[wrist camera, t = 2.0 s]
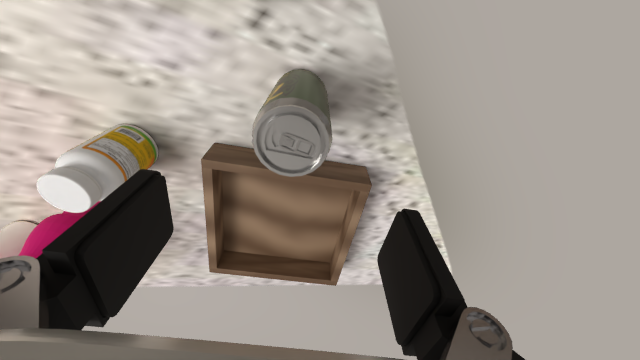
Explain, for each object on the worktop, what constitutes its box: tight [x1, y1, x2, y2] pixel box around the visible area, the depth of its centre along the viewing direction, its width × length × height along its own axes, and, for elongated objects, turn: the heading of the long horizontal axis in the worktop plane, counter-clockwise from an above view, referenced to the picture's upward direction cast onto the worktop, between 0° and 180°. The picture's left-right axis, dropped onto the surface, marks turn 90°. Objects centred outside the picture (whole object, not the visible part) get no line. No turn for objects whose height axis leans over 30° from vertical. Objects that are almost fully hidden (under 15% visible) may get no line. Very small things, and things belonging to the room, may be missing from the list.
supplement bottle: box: [37, 124, 158, 213], centre depth 25 cm, size 5×5×10 cm
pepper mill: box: [18, 201, 101, 259], centre depth 26 cm, size 7×7×20 cm
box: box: [201, 143, 372, 286], centre depth 33 cm, size 18×18×4 cm
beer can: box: [252, 69, 332, 177], centre depth 21 cm, size 5×5×12 cm
